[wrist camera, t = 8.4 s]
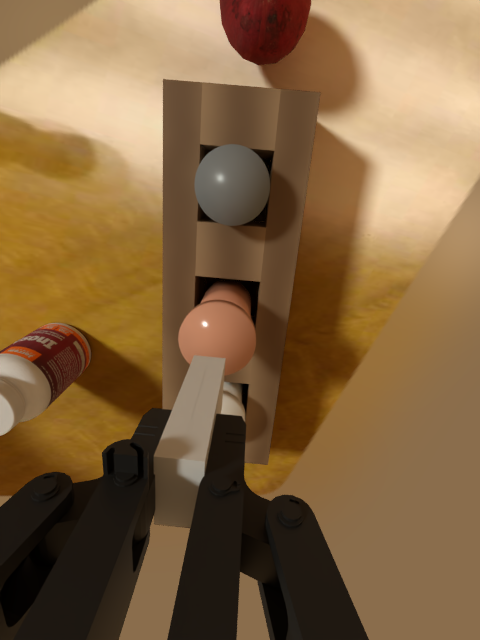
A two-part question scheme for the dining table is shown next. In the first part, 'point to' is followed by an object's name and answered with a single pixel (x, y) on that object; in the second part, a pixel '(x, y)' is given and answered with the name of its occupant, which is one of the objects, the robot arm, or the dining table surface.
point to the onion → (264, 27)
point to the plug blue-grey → (232, 185)
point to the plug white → (233, 399)
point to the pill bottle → (39, 371)
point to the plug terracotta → (220, 326)
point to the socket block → (234, 228)
